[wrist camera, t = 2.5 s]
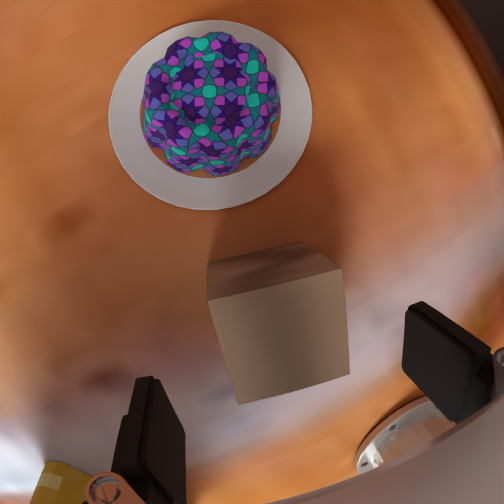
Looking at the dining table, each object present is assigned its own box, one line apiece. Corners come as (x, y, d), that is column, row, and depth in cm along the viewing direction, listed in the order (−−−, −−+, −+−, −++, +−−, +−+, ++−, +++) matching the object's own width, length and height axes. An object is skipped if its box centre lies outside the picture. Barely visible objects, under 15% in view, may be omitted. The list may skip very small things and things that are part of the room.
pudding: (312, 203, 19) (348, 213, 14) (116, 217, 17) (84, 232, 12) (301, 27, 16) (328, -11, 11) (116, 36, 14) (90, -1, 9)
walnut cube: (303, 240, 19) (342, 268, 13) (315, 325, 21) (349, 373, 15) (207, 262, 19) (206, 301, 13) (229, 346, 20) (237, 404, 14)
